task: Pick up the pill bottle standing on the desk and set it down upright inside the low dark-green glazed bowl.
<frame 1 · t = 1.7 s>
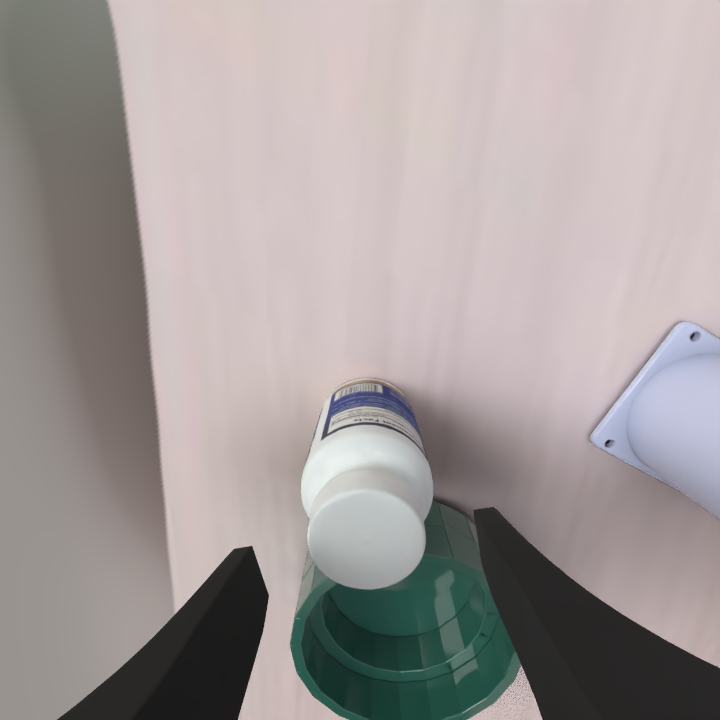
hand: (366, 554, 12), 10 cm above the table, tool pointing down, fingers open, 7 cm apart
pill bottle: (367, 418, 22), on the table
bowl: (399, 573, 25), on the table
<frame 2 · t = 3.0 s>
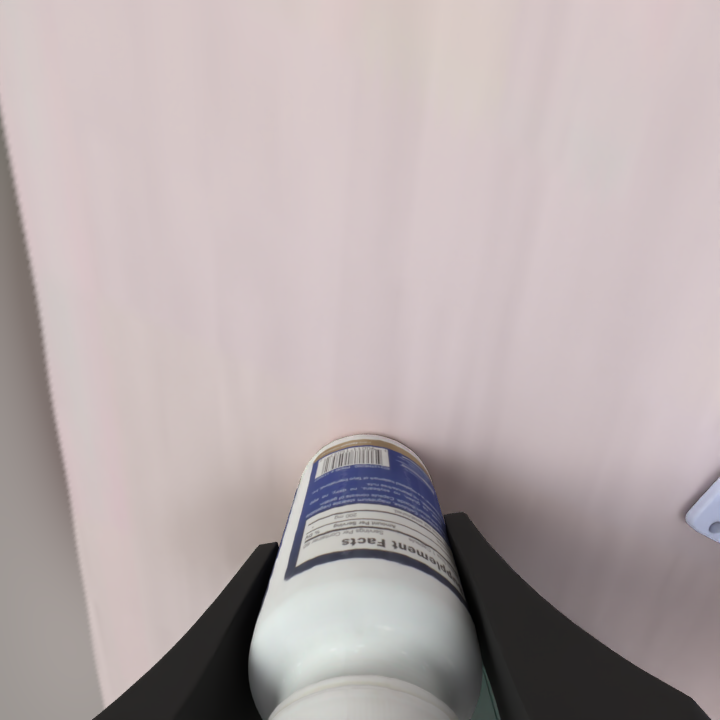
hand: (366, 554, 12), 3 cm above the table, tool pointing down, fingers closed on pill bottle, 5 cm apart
pill bottle: (366, 487, 16), on the table, touching gripper
bowl: (410, 688, 18), on the table
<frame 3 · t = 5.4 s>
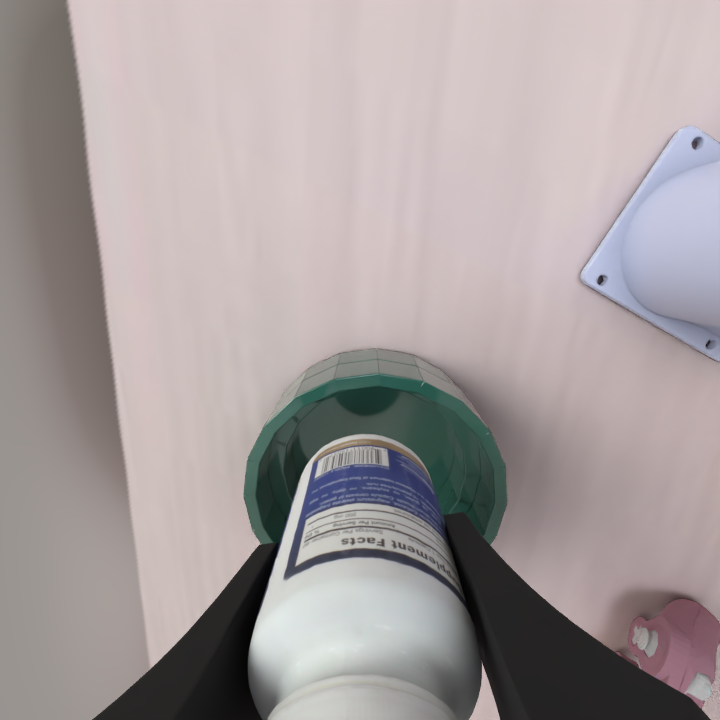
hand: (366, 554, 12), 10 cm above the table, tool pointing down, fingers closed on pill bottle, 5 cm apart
pill bottle: (365, 487, 16), point 7 cm above the table, touching gripper
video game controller: (627, 638, 26), on the table
bowl: (373, 447, 23), on the table
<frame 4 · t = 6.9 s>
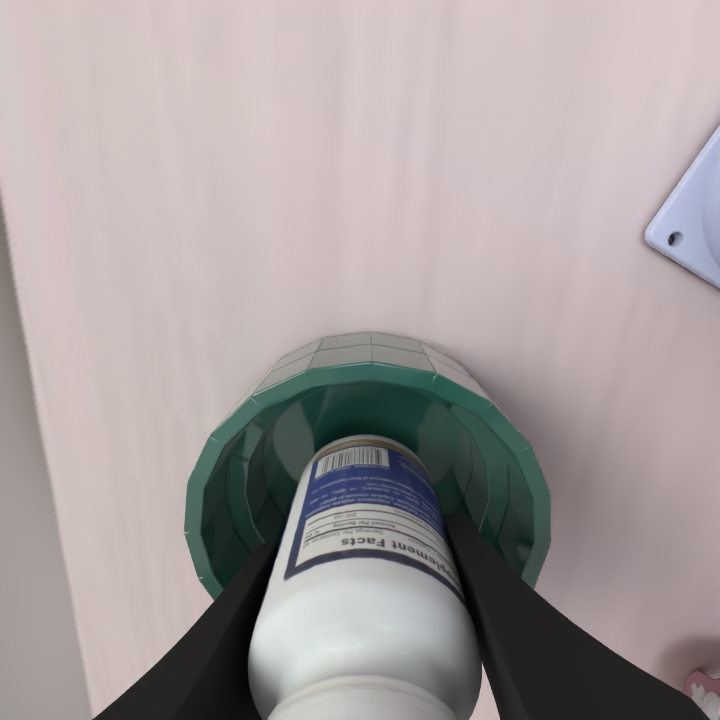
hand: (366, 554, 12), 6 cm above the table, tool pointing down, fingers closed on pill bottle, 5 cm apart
pill bottle: (366, 487, 16), point 2 cm above the table, touching gripper
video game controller: (680, 695, 21), on the table
bowl: (366, 460, 18), on the table
when the fingers open (4 cm above the table, at t = 8.0 s): pill bottle stays where it is, resting on bowl.
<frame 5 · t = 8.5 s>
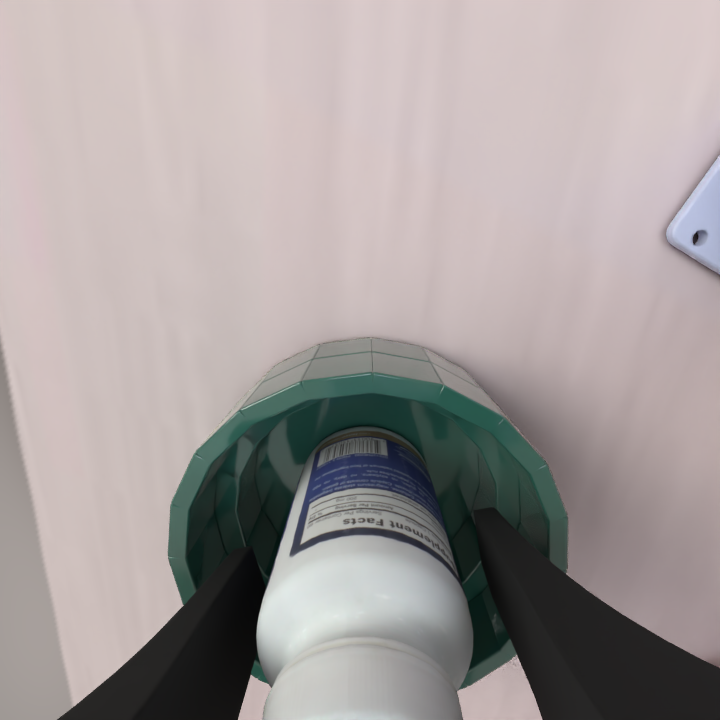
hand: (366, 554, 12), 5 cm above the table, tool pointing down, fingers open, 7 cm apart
pill bottle: (365, 477, 16), resting on bowl
bowl: (366, 473, 17), on the table
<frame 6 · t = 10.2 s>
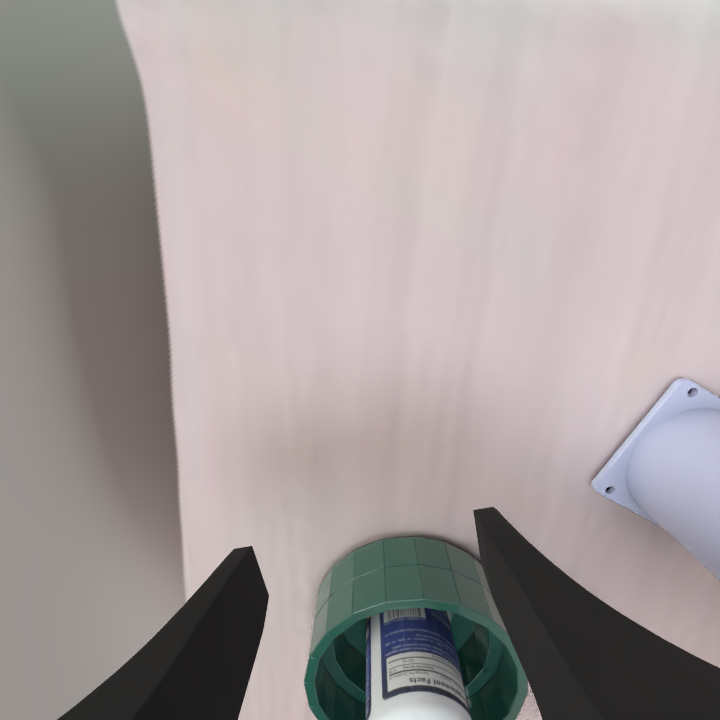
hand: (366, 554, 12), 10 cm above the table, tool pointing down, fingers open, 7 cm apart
pill bottle: (406, 611, 25), resting on bowl
bowl: (406, 607, 26), on the table
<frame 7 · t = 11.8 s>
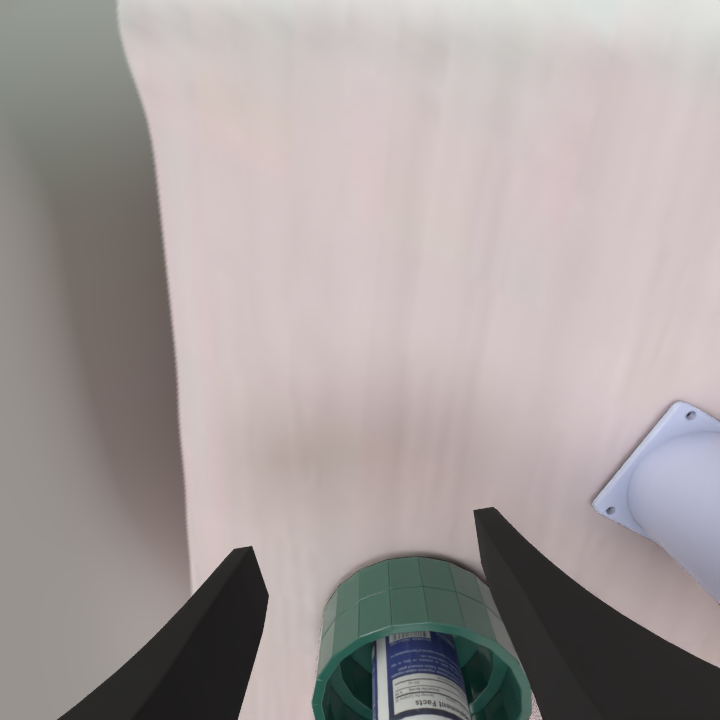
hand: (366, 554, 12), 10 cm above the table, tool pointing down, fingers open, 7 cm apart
pill bottle: (411, 628, 26), resting on bowl
bowl: (411, 624, 26), on the table
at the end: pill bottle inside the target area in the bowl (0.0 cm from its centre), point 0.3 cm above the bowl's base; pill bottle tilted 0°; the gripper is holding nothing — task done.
